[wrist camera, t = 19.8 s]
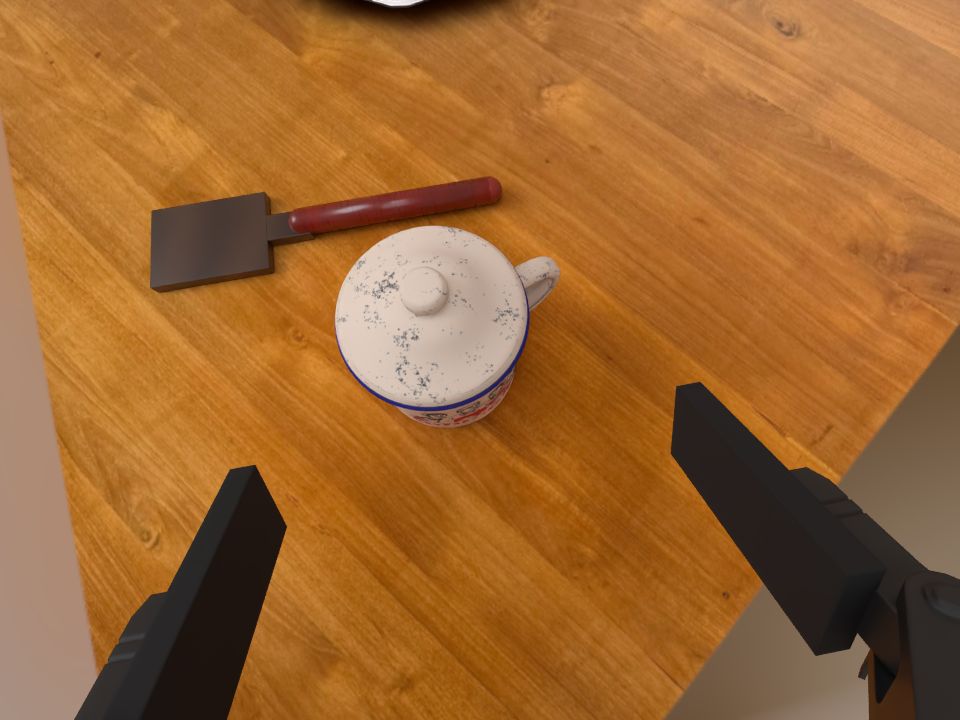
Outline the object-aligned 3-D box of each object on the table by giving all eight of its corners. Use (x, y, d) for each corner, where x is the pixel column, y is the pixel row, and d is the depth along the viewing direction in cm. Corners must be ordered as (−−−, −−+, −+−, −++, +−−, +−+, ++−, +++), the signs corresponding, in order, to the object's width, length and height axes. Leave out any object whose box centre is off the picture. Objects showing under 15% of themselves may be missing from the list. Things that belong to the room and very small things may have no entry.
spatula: (158, 292, 32) (138, 281, 30) (159, 216, 33) (140, 201, 31) (509, 233, 32) (510, 218, 30) (493, 160, 34) (493, 143, 32)
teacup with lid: (420, 461, 28) (373, 443, 17) (353, 339, 30) (272, 252, 19) (584, 362, 30) (641, 285, 18) (509, 252, 32) (519, 124, 20)
